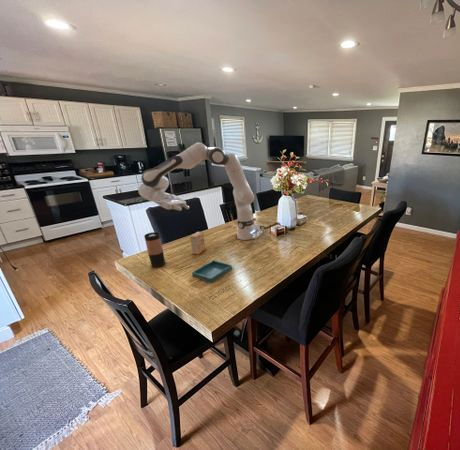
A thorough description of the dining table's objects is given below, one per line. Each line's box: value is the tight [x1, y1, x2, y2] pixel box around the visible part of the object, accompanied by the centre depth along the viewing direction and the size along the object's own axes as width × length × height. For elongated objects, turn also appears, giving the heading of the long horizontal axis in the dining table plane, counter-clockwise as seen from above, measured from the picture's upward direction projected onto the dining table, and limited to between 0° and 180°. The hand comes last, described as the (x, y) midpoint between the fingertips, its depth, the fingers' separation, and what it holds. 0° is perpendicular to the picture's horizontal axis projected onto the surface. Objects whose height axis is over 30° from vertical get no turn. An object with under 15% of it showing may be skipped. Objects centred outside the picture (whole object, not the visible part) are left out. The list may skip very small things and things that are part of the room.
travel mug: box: [144, 231, 166, 269], centre depth 142 cm, size 8×8×20 cm
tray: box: [191, 259, 233, 283], centre depth 137 cm, size 16×14×2 cm
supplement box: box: [189, 231, 206, 256], centre depth 160 cm, size 8×5×13 cm, turn 168°
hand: (185, 208), depth 151 cm, fingers open, 8 cm apart
